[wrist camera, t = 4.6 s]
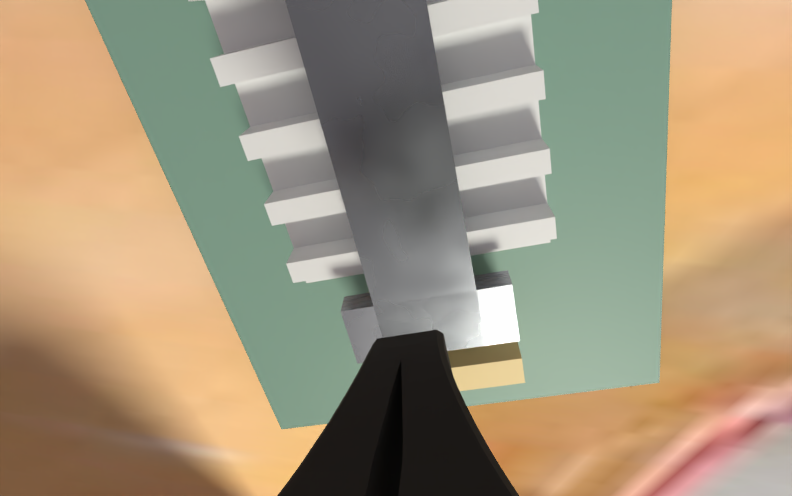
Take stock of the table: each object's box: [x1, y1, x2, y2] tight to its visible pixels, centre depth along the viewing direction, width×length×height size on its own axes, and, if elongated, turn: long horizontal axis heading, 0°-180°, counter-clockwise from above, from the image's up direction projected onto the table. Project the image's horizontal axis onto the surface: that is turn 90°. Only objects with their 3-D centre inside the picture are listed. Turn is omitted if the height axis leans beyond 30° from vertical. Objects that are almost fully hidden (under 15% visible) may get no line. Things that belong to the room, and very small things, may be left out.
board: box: [85, 0, 672, 429], centre depth 14 cm, size 16×26×5 cm, turn 13°
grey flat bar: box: [285, 0, 520, 364], centre depth 12 cm, size 15×5×2 cm, turn 13°
